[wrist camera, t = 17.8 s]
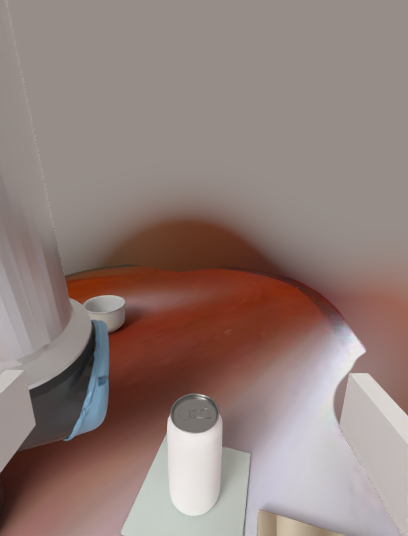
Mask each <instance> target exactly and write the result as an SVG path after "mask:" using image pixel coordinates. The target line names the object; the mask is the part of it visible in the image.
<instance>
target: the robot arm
mask: <svg viewBox="0 0 408 536" xmlns="http://www.w3.org/2000/svg"><path fill="white" fill-rule="evenodd" d="M108 375H109V339H108V329H107V325H106V323H105V322H103V321H97V320H95V319H94V320H91V319H90V316H89V314H88V311H87V310H86V309H85V307H84V306H82V305H81V304H80V303H79V302H77V301H75V300H73V299H71V298H69V296H68V291H67V286H66V281H65V276H64V272H63V267H62V262H61V257H60V252H59V248H58V243H57V238H56V233H55V228H54V223H53V219H52V214H51V209H50V204H49V200H48V195H47V190H46V185H45V181H44V175H43V171H42V166H41V161H40V156H39V152H38V147H37V142H36V137H35V132H34V127H33V123H32V118H31V114H30V108H29V103H28V99H27V94H26V89H25V84H24V79H23V74H22V70H21V66H20V60H19V55H18V50H17V46H16V41H15V36H14V31H13V27H12V22H11V17H10V12H9V8H8V3H7V0H0V473H1V471H2V470H3V469H4V467H5V466H6V465H7V463H8V462H9V460H10V459H11V458H12V456H13V455H14V454H15V453H16V452H20V451H23V450H27V449H30V448H34V447H38V446H41V445H45V444H49V443H52V442H56V441H59V440H63V441H68V440H71V439H72V438H73V437H74V436H77V435H80V434H83V433H86V432H89V431H92V430H94V429H96V428H97V427H99V426H100V425H101V423H102V422H103V421H104V419H105V416H106V413H107V407H108V393H109V379H108ZM339 428H340V430H341V432H342V433H343V435H344V437H345V439H346V440H347V442H348V444H349V445H350V447H351V449H352V451H353V452H354V454H355V456H356V457H357V459H358V461H359V463H360V464H361V466H362V468H363V469H364V471H365V473H366V474H367V476H368V478H369V480H370V481H371V483H372V485H373V486H374V488H375V490H376V492H377V493H378V495H379V497H380V498H381V500H382V502H383V504H384V505H385V507H386V509H387V510H388V512H389V514H390V516H391V517H392V519H393V521H394V522H395V524H396V526H397V528H398V529H399V531H400V533H401V534H402V536H408V416H407V415H406V414H405V413H404V411H403V410H402V409H401V408H400V407H399V406H398V405H397V404H396V403H395V402H394V401H393V400H392V399H391V397H390V396H389V395H388V394H387V393H386V392H385V391H384V390H383V389H382V388H381V387H380V386H379V385H378V383H377V382H376V381H375V380H374V379H373V378H372V377H371V376H370V375H369V374H368V373H349V378H348V383H347V388H346V394H345V399H344V405H343V409H342V414H341V420H340V425H339ZM3 503H4V489H3V485H2V482H1V478H0V515H1V512H2V508H3Z"/></svg>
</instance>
